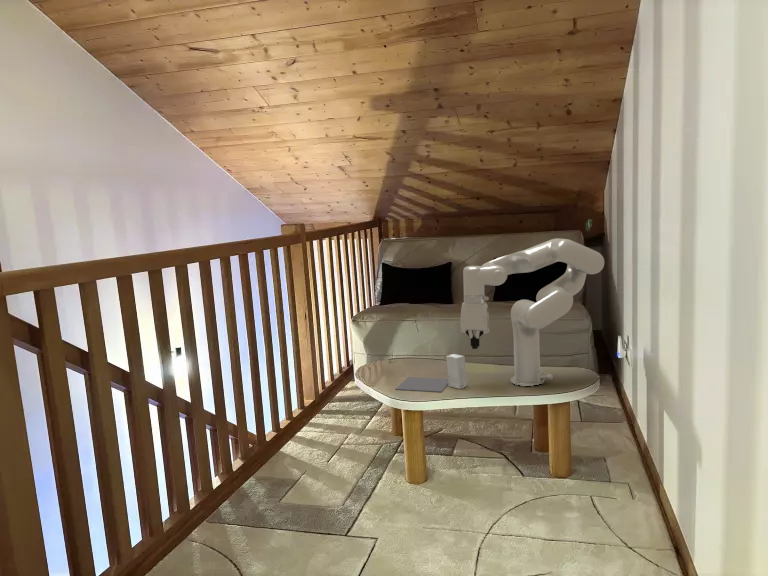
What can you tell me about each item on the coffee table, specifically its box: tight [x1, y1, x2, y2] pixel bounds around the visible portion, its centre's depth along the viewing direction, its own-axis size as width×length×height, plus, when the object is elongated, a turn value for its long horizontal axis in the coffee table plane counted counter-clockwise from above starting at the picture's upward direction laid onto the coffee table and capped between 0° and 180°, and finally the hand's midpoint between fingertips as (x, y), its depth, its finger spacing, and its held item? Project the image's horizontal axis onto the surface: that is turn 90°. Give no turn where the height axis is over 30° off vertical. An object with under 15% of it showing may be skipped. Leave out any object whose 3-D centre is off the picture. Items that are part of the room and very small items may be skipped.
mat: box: [395, 376, 449, 393], centre depth 225 cm, size 18×16×1 cm
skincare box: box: [445, 353, 468, 390], centre depth 219 cm, size 6×4×12 cm
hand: (475, 348), depth 215 cm, fingers closed
